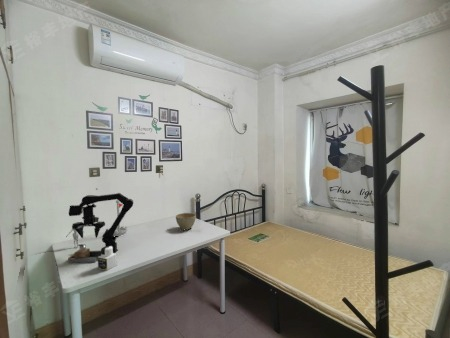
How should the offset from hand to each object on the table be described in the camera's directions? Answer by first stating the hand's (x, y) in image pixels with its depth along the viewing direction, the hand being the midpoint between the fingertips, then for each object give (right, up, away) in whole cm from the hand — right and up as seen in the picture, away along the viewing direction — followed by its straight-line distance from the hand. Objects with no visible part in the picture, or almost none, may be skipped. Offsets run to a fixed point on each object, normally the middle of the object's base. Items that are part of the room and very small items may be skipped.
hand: (89, 237), depth 146 cm
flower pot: (+55, -9, +54) cm, 77 cm away
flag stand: (0, -11, +41) cm, 42 cm away
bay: (0, -12, -1) cm, 12 cm away
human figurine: (-19, -12, +15) cm, 27 cm away
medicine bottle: (+21, -13, -16) cm, 29 cm away
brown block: (-2, -12, -4) cm, 13 cm away
